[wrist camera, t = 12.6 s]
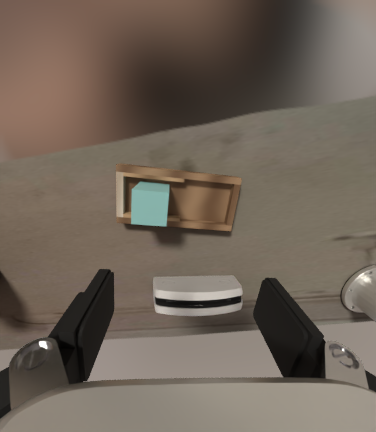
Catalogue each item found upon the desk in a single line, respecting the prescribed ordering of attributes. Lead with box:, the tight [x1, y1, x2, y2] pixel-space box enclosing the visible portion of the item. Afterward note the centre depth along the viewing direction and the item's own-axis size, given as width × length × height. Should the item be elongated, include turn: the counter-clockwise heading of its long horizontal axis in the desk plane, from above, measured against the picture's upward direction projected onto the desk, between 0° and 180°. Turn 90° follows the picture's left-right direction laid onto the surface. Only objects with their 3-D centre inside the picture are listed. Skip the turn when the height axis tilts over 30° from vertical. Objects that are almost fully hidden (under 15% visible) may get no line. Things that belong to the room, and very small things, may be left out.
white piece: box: [153, 275, 243, 316], centre depth 33 cm, size 17×5×10 cm, turn 87°
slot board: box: [116, 164, 242, 231], centre depth 30 cm, size 19×9×2 cm, turn 83°
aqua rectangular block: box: [131, 181, 169, 227], centre depth 26 cm, size 4×4×7 cm
